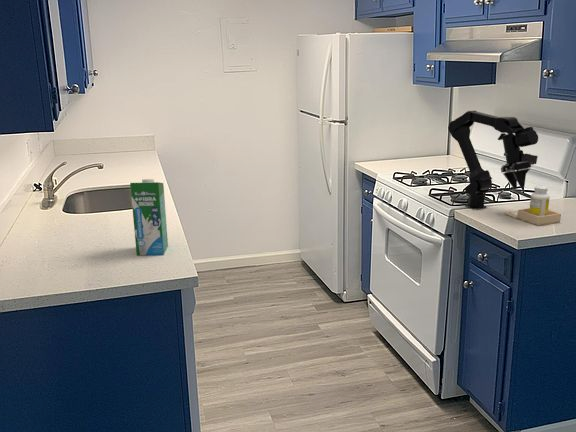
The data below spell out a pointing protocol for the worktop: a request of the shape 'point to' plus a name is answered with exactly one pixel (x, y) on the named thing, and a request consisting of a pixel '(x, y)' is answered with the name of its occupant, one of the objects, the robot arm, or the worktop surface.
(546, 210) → the supplement bottle
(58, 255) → the worktop surface
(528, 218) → the mailer box
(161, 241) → the milk carton
